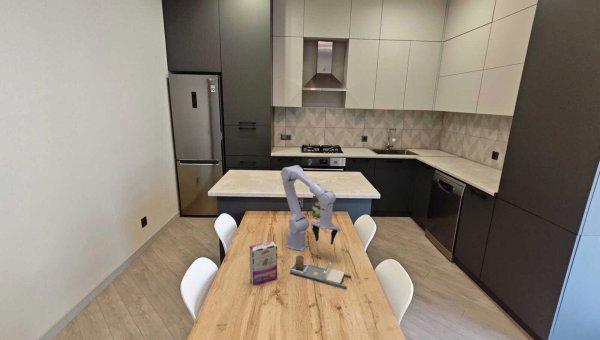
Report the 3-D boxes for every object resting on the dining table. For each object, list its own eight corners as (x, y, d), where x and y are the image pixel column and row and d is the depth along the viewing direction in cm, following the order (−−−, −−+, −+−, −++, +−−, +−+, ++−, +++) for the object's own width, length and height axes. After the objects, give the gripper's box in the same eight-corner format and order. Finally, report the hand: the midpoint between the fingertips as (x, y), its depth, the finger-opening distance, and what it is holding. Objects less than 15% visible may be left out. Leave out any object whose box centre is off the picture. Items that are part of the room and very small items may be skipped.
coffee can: (326, 220, 188) (327, 200, 184) (311, 218, 189) (312, 198, 186) (327, 214, 198) (328, 195, 194) (312, 212, 199) (313, 193, 196)
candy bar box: (273, 273, 128) (273, 240, 124) (277, 279, 124) (278, 245, 120) (249, 279, 123) (249, 245, 119) (253, 285, 119) (252, 250, 115)
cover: (322, 280, 122) (323, 271, 121) (328, 269, 130) (328, 261, 129) (339, 284, 120) (340, 275, 119) (344, 273, 127) (345, 265, 126)
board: (288, 273, 128) (289, 269, 128) (296, 263, 136) (296, 259, 136) (346, 289, 119) (346, 285, 118) (350, 277, 127) (351, 273, 126)
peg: (294, 270, 129) (294, 258, 128) (297, 266, 132) (297, 254, 131) (301, 272, 128) (301, 260, 126) (304, 268, 131) (305, 256, 129)
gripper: (309, 216, 135) (307, 242, 138) (338, 222, 129) (336, 248, 133) (313, 211, 141) (312, 236, 144) (342, 216, 136) (340, 242, 139)
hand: (324, 241), depth 139 cm, fingers open, 7 cm apart
